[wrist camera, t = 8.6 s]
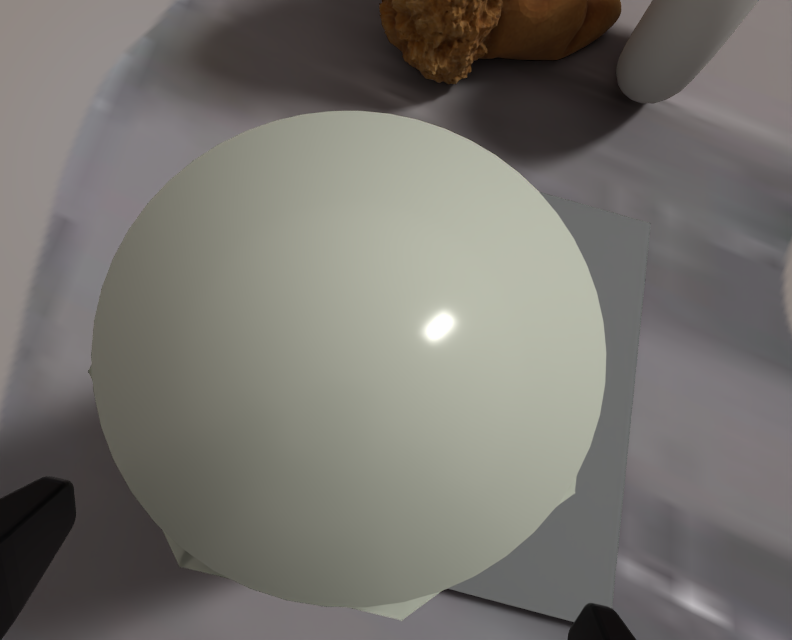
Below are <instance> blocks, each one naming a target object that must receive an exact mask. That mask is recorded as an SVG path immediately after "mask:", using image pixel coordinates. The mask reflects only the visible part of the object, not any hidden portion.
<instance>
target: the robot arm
mask: <svg viewBox="0 0 792 640" xmlns="http://www.w3.org/2000/svg"><path fill="white" fill-rule="evenodd" d="M75 518H76V508H75V498H74V487H73V484H72V483H71V482H70V481H68V480H64V479H60V478H55V477H43V478H40V479H38V480H36V481H34V482H32V483H30V484H28V485H26V486H24V487H22V488H20V489H18V490H16V491H14V492H13V493H11V494H9V495H7V496H5V497H3V498H1V499H0V640H1V639H2V638H3V636H4V635H5V634H6V632H7V631H8V629H9V628H10V627H11V625H12V624H13V622H14V621H15V620H16V618H17V616H18V615H19V613H20V612H21V610H22V609H23V607H24V606H25V604H26V602H27V601H28V599H29V597H30V596H31V594H32V592H33V591H34V589H35V588H36V586H37V584H38V583H39V581H40V579H41V578H42V576H43V574H44V573H45V571H46V569H47V568H48V566H49V565H50V563H51V561H52V560H53V558H54V556H55V555H56V553H57V551H58V550H59V548H60V547H61V545H62V543H63V542H64V540H65V538H66V537H67V535H68V533H69V532H70V530H71V528H72V526H73V524H74V521H75ZM568 640H636V639H635V637H634V636H633V635H632V633H631V632H630V630H629V629H628V628H627V626H626V625H625V624H624V622H623V621H622V620H621V618H620V617H619V615H618V614H617V613H616V612H615V611H614V610H613V609H612V608H610V607H608V606H604V605H600V604H595V603H588V604H586V605H585V606H584V608H583V609H582V611H581V612H580V614H579V615H578V617H577V618H576V620H575V621H574V623H573V625H572V626H571V628H570V630H569V633H568Z"/></svg>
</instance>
